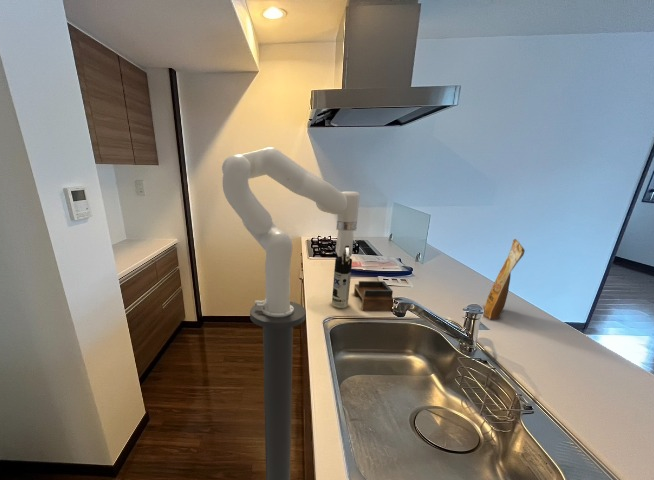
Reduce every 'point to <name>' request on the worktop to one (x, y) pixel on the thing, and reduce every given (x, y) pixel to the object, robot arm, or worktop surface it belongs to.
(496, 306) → the pancake mix bag
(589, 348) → the worktop surface
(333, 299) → the spray can
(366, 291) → the dark wooden tray box
